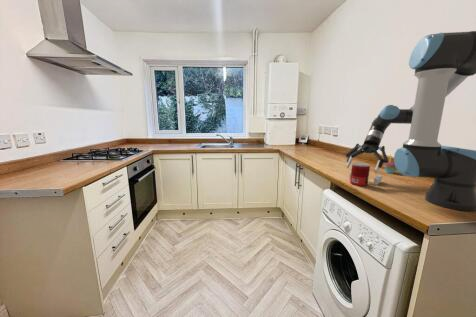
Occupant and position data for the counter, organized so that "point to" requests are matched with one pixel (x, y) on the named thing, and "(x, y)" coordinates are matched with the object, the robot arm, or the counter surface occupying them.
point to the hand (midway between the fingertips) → (360, 169)
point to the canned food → (359, 174)
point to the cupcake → (389, 166)
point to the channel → (376, 179)
